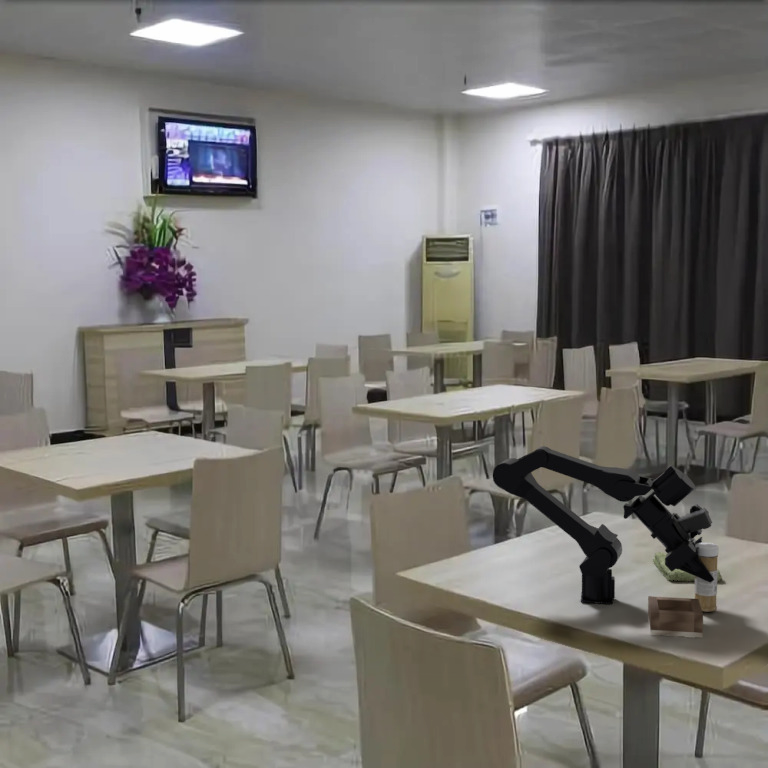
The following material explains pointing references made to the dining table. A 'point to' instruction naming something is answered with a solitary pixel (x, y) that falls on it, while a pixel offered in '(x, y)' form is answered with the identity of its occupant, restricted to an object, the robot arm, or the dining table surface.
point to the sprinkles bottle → (704, 588)
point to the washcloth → (675, 574)
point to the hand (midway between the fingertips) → (713, 577)
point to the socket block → (675, 616)
